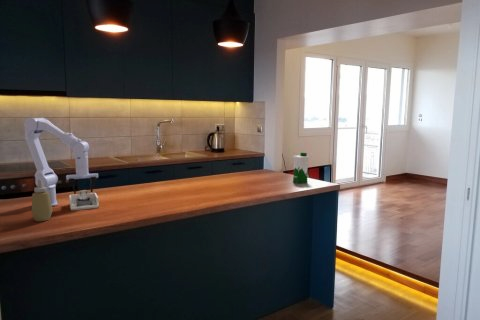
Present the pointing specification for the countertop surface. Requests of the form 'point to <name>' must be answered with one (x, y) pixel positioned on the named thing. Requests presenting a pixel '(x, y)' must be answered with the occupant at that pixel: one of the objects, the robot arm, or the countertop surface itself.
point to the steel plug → (83, 195)
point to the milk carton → (300, 168)
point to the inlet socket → (83, 202)
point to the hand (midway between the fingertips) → (83, 192)
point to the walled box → (94, 205)
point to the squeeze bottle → (41, 203)
